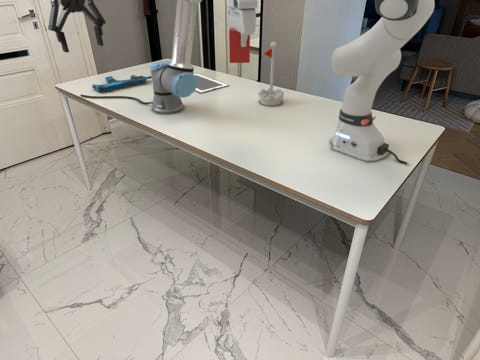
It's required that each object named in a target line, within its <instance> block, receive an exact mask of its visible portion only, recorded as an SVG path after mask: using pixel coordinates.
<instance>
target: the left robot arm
mask: <svg viewBox="0 0 480 360" xmlns="http://www.w3.org/2000/svg"><path fill="white" fill-rule="evenodd" d="M202 1H203V0H176V10H175V22H174V31H173V42H172V52H171V60H162V61H155V62H152V63H151V64H150V68H149V69H150V76H151V77H152V78H151V82H152V83H151V84H152V88H153V98H152V101H147V102H145V101H142V100H140V99H139V98H137V97H134V96H125V95H102V96H101V95H99V96H96V95H87V94H80V97H84V98H90V99H131V100H135V101H137V102H139V103H140V104H142V105H151V107H152V108H151V109H152V111H153V112H155V113H157V114H161V115H170V114H174V113H175V114H176V113H178V112H180V111H182V110H183V109H184V104H183V101H182V98H183V99H185V98H188V97H190V96H191V95H192V94H194V92H196V91H195V89H196V86H197V80H196V78H195V76H194V71H195V70H194V69H195V67H194V66H193V64H192V58H193V50H194V41H195V33H196V24H197V14H198V7H199V6H198V5H199V4H200V3H201V2H202ZM85 4H87V6H88V7H89V9H90V10H89V9H88V8H87V7H86V6H85ZM50 5H51V8H50V15H49V20H48V27H47V30H48V31H50V32H51V31H52V32H54V33H55V37H56V39H57V42H58V43H60V45H61V48H62V52H64V53H70V50H69V46H68V42H67V38H66V35H65V32H64V31H63V28H64V26H65V24H66V21H67V19H68V17H69V15H70V14H75V13H82V14H83V15H85V17H87V18H88V19H89V20H90V21H91V22H92V23H93V24H94V26H93V29H94V34H95V39H96V43H97V45H98V46H100V47H103V46H104V41H103V36H104V31H103V26H104V25H106V20H105V18H104V16H103V15H102V14H101V12H100V10H99V9H98V7H97V5H96V4H95V1H94V0H50ZM60 6H62V8H61V12H60V14H59V11H60ZM90 11H92V13H91V12H90Z"/></svg>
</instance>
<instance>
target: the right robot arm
mask: <svg viewBox="0 0 480 360" xmlns="http://www.w3.org/2000/svg"><path fill="white" fill-rule="evenodd" d="M225 3H226V25H227V27H228V28H233V29H235V30H237V31H238V32H240V33H241V41H240V46H242V47H246V41H247V38H248V35H250V36H252V35H254V34H255V31H256V24H257V10H256V9H257V8H258V0H226V2H225ZM435 5H436V4H435V0H374V7H375V11H376V13H377V14H378V15H379V16H380V19H379V20H378V21H377V22H376V23H375V24H374V25H373V26H372V27H371V28H370V29H369V30H367V31H366V32H364V33H363V34H361V35H359V36H358V37H357V38H355V39H354V40H352V41H350V42H348V43H346V44H344V45H342V46H339V47H337V48H336V49H335V50H333V53H332V55H331V58H330V67H331V69H332V71H333V73H334V74H335V75H336V76H339V77H347V78H352V77H357V78H356V79H355V80H354V81H353V82H352V83H351V84H349V85H348V86H347V87H346V89H345V90H344V92H343V98H342V103H341V108H340V109H339V113H338V122H337V123H338V124H337V127H336V130H335V132H334V135H333V137H332V139H331V144H332V149H333V150H334V151H336V152H340V153H343V154H344V155H345V154H346V155H348V156H351V157H354V158H356V159H359V160H361V161H365V162H374V161H379V160H381V159H383V158H385V157H387V155H388V154H391V155H392V156H393V157H394V158H395V160H396V161H397V162H399V163H400V164H405V165H408V161H404V160H401V159H400V158H399V156H398V155H397V154H396V153H394V152H393V151H392V150H389V147H390V143H386V142H385V138H384V135H383V134H382V133H381V131H379V128H377V126H376V125H375V124H374V121H375V120H376V119H377V116H373V113H372V109H373V104H374V101H375V97H376V94H377V92H378V89H380V86H381V85H382V83H383V82H384V80H386V78H387V77H388V76H389V75H390V74H391V73H393V72H394V71H396V70H397V68H398V67H399V66H400V63H401V61H402V52H401V49H402V48H403V47H404V46H405V44H407V43H408V42H409V41H410V40H411V39H412V38H413V37H414V36H415V35H416V34H417V33H418V32H419V31H420V30H421V29H422V28H423V27H424V25H425V24H426V23H427V21H428V20H429V19H430V18H431V16H432V14H433V13H434V11H435V8H436V7H435Z"/></svg>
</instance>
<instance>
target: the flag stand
mask: <svg viewBox="0 0 480 360" xmlns="http://www.w3.org/2000/svg"><path fill="white" fill-rule="evenodd" d="M277 46H278V45H277V43H276V42H275V41H272V42H271V43H270V49H268V50H267V51H266V52H264V53H263V55H265V56H266V57H269V58H271V59H270V77H269V87H267V89H265V88H261V89H260V90H259V91H258V98H259V99H260V100H259V102H260V104H262V105H264V106H269V107H270V106H271V107H274V106H278V105H280V104H281V103H282V99H284V96H285V95H284V94H285V93H284V91H282V89H280V88H276V89H275V90H274V72H275V58H276V57H275V56H276V55H275V54H276V48H277Z"/></svg>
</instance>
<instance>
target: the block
mask: <svg viewBox="0 0 480 360" xmlns="http://www.w3.org/2000/svg"><path fill="white" fill-rule="evenodd" d="M228 38H229V39H228V47H229V48H228V51H229V63H230V64H250V63H251V35H248V38H247V41H246V47H242V46H240V41H241V33H240V32H238V31H237V30H235V29H233V28H231V27H228Z"/></svg>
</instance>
